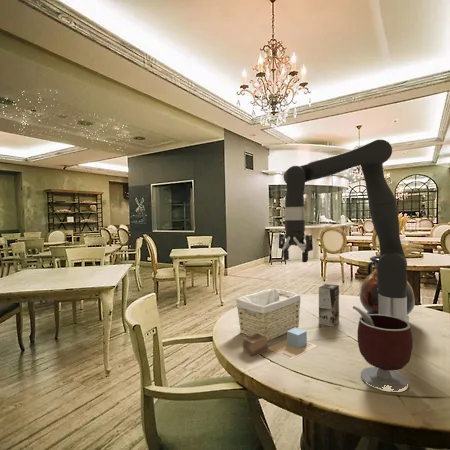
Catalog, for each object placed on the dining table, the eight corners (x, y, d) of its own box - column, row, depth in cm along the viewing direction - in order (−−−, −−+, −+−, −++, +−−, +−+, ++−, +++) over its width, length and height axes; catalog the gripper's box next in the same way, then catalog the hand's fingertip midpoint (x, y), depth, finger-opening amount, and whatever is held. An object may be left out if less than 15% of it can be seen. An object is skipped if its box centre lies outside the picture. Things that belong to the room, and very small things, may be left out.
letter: (317, 346, 109) (317, 345, 109) (291, 359, 99) (291, 359, 99) (292, 336, 117) (292, 336, 117) (266, 348, 107) (266, 348, 107)
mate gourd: (416, 378, 86) (417, 310, 86) (406, 401, 76) (406, 324, 75) (360, 361, 97) (360, 300, 96) (345, 379, 86) (344, 311, 86)
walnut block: (267, 351, 106) (267, 337, 105) (252, 357, 101) (252, 343, 101) (257, 346, 110) (257, 333, 109) (243, 352, 105) (242, 338, 105)
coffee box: (333, 327, 126) (333, 289, 126) (318, 324, 130) (317, 287, 129) (339, 320, 133) (339, 285, 133) (325, 317, 137) (325, 283, 137)
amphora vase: (426, 324, 126) (427, 259, 125) (390, 333, 118) (389, 263, 117) (383, 310, 146) (382, 253, 145) (349, 316, 138) (348, 256, 137)
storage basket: (263, 345, 110) (263, 306, 110) (234, 332, 123) (234, 297, 122) (302, 328, 126) (302, 294, 125) (273, 318, 138) (273, 287, 137)
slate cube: (306, 344, 110) (306, 331, 109) (298, 349, 106) (298, 335, 106) (295, 340, 113) (295, 327, 113) (287, 344, 110) (286, 331, 110)
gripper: (316, 218, 111) (316, 261, 112) (285, 218, 122) (286, 258, 123) (304, 219, 107) (305, 264, 107) (273, 219, 118) (274, 260, 118)
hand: (295, 260), depth 115 cm, fingers open, 8 cm apart
